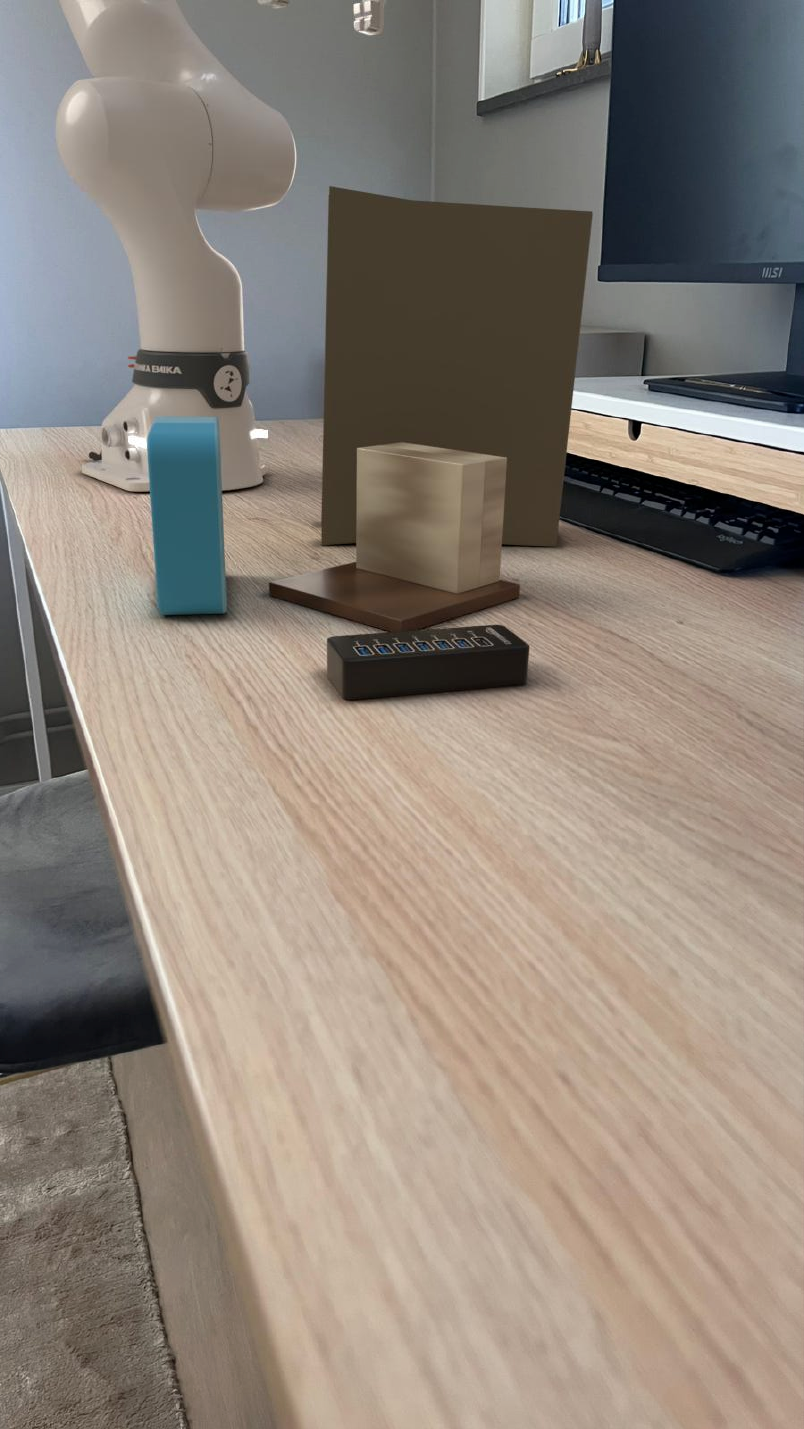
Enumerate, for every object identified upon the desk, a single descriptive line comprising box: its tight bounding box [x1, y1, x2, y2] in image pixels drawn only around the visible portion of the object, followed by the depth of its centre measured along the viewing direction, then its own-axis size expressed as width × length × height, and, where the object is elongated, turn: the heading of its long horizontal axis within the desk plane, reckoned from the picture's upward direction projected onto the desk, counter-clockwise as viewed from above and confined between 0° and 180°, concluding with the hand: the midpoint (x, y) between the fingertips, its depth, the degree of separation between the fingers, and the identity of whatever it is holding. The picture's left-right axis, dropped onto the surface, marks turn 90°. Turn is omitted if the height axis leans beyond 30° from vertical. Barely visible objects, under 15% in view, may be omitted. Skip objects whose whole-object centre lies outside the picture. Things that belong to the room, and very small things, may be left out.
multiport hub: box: [326, 624, 531, 701], centre depth 59 cm, size 4×11×2 cm, turn 107°
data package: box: [147, 417, 228, 616], centre depth 72 cm, size 12×4×12 cm, turn 10°
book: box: [320, 185, 594, 548], centre depth 90 cm, size 22×9×28 cm, turn 94°
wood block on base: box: [268, 442, 521, 632], centre depth 74 cm, size 13×13×10 cm
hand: (323, 20), depth 73 cm, fingers open, 8 cm apart
